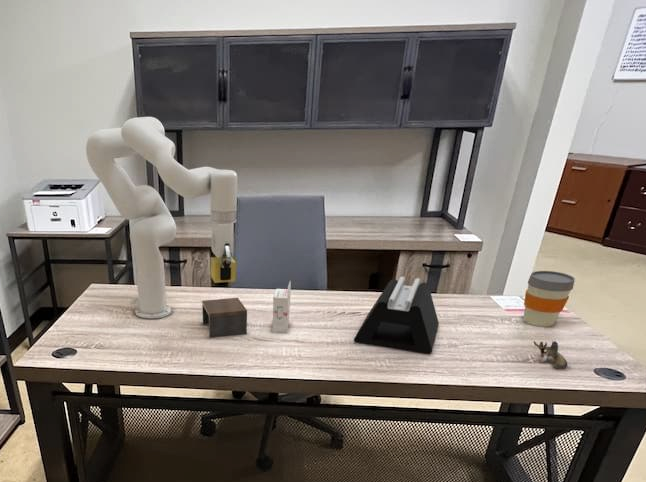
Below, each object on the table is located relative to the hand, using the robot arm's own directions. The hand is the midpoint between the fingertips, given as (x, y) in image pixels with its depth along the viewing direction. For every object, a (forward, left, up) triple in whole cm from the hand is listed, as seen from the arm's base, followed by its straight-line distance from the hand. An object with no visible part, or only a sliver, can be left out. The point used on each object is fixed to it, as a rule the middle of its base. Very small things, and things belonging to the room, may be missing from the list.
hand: (222, 275), depth 164 cm
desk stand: (0, 0, -18) cm, 18 cm away
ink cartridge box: (+16, +9, -18) cm, 26 cm away
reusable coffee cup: (+90, +51, -18) cm, 105 cm away
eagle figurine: (+93, +19, -18) cm, 97 cm away
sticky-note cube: (0, 0, -1) cm, 1 cm away
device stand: (+51, +20, -18) cm, 58 cm away
